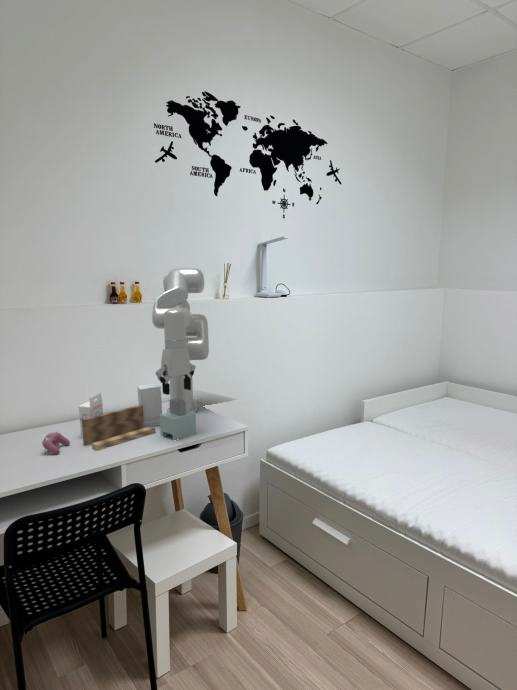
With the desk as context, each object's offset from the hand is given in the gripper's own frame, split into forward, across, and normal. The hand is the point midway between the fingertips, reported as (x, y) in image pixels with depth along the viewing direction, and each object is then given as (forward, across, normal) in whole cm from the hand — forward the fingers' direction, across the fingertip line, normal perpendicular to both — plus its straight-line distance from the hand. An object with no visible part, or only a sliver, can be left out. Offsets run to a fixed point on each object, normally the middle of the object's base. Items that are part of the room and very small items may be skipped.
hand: (177, 391), depth 179 cm
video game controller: (+17, +36, -20) cm, 45 cm away
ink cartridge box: (+16, +19, -26) cm, 36 cm away
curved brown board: (+16, +15, -14) cm, 26 cm away
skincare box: (+16, -2, -19) cm, 25 cm away
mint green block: (+16, -1, -1) cm, 16 cm away
